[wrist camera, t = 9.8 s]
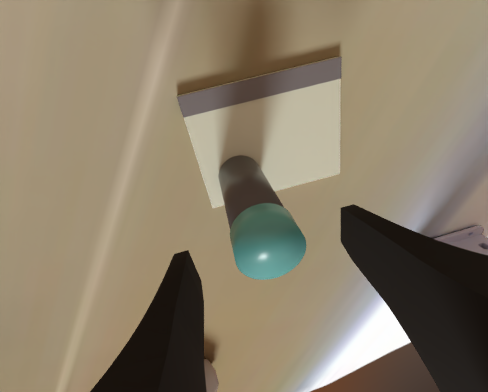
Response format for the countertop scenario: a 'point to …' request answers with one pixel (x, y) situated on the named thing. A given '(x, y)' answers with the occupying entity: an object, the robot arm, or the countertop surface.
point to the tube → (210, 377)
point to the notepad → (269, 125)
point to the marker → (258, 222)
